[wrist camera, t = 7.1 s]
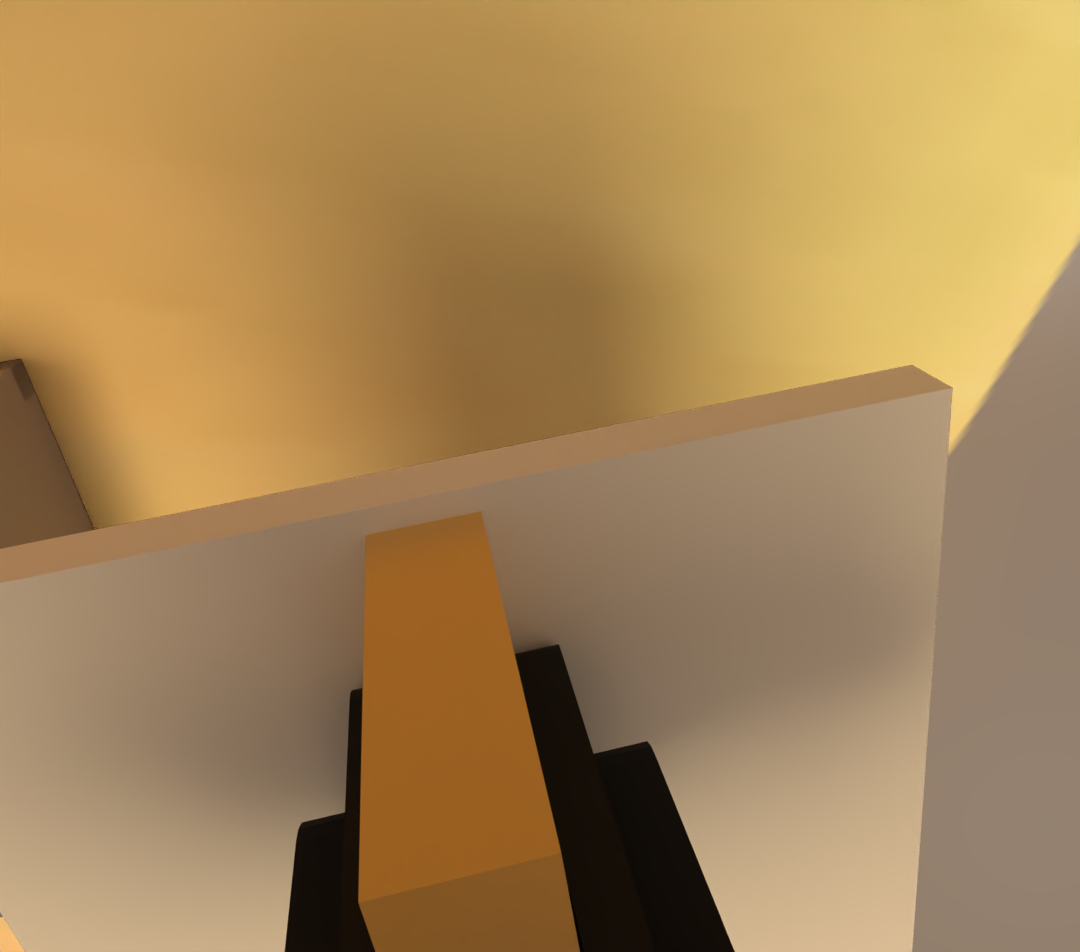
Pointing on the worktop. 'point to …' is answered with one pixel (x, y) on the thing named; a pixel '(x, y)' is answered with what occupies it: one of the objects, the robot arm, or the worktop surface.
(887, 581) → the lid
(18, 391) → the tub
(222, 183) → the worktop surface
